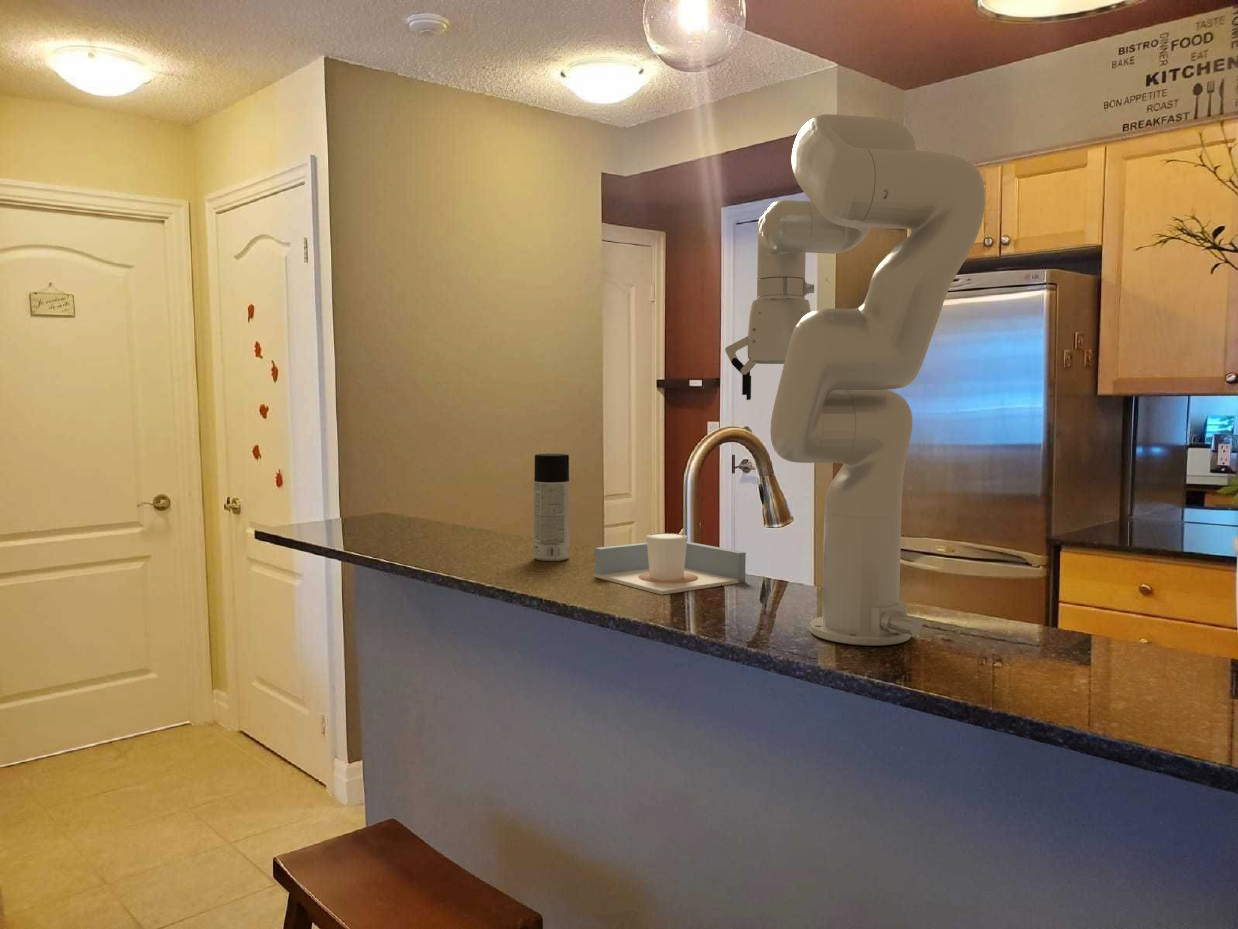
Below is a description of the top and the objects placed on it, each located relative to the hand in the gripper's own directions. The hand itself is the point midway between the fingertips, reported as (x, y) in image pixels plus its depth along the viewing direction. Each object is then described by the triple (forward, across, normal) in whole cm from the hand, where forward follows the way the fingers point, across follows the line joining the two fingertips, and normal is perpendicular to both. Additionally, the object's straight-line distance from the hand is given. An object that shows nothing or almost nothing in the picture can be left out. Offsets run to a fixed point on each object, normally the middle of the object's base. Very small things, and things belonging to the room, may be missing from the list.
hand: (778, 400), depth 147 cm
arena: (+30, +18, -4) cm, 35 cm away
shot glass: (+30, +18, -2) cm, 35 cm away
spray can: (+31, +42, -21) cm, 56 cm away
